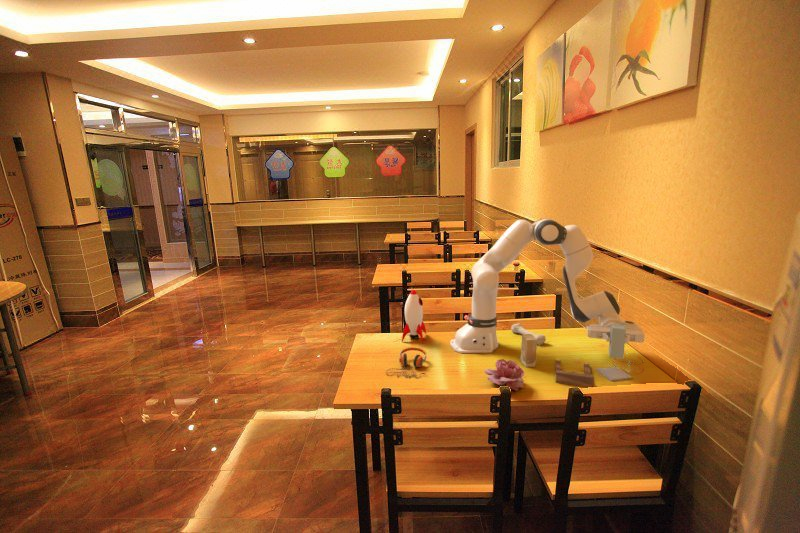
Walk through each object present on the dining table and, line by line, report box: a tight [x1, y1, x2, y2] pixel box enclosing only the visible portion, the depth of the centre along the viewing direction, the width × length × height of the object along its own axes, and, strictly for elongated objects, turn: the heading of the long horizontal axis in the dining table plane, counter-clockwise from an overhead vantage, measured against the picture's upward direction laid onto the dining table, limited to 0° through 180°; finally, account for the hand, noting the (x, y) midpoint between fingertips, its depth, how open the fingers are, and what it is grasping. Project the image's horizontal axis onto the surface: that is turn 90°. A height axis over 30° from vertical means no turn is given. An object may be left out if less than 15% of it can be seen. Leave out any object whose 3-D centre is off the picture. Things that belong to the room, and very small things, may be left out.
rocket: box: [401, 289, 427, 343], centre depth 198 cm, size 11×11×25 cm
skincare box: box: [520, 334, 538, 368], centre depth 169 cm, size 6×4×12 cm
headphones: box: [385, 346, 427, 379], centre depth 169 cm, size 17×5×20 cm
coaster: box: [595, 366, 633, 382], centre depth 159 cm, size 9×9×1 cm
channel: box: [554, 359, 595, 388], centre depth 160 cm, size 18×13×4 cm
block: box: [608, 324, 626, 360], centre depth 156 cm, size 4×4×12 cm
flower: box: [484, 358, 526, 392], centre depth 152 cm, size 15×15×10 cm
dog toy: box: [510, 323, 547, 346], centre depth 197 cm, size 20×6×5 cm, turn 24°
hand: (617, 340), depth 155 cm, fingers closed on block, 4 cm apart
